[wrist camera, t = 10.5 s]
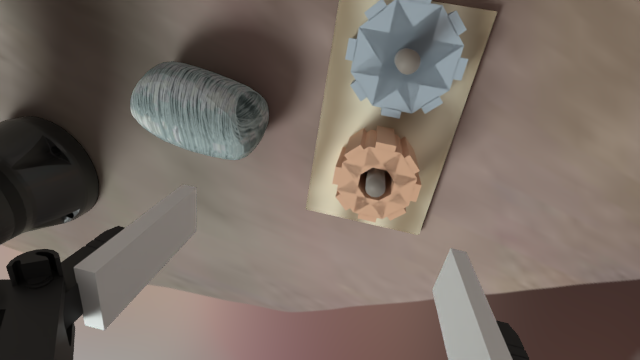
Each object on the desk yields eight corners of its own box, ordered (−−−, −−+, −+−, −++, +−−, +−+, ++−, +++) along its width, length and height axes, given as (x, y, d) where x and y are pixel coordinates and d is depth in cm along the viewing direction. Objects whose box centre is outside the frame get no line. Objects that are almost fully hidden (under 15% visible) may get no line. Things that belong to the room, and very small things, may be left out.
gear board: (307, 206, 40) (291, 241, 33) (342, -13, 30) (330, -29, 23) (418, 231, 39) (426, 274, 32) (494, 12, 29) (531, 3, 22)
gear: (340, 100, 33) (336, 106, 31) (361, -13, 29) (359, -19, 26) (440, 120, 32) (445, 127, 30) (477, 5, 28) (487, 2, 25)
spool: (287, 79, 31) (214, 136, 25) (281, 145, 39) (224, 200, 33) (182, 23, 34) (96, 63, 28) (196, 95, 41) (130, 138, 36)
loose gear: (334, 186, 38) (326, 211, 32) (348, 119, 34) (341, 134, 29) (403, 201, 37) (407, 229, 31) (423, 134, 33) (432, 153, 28)
